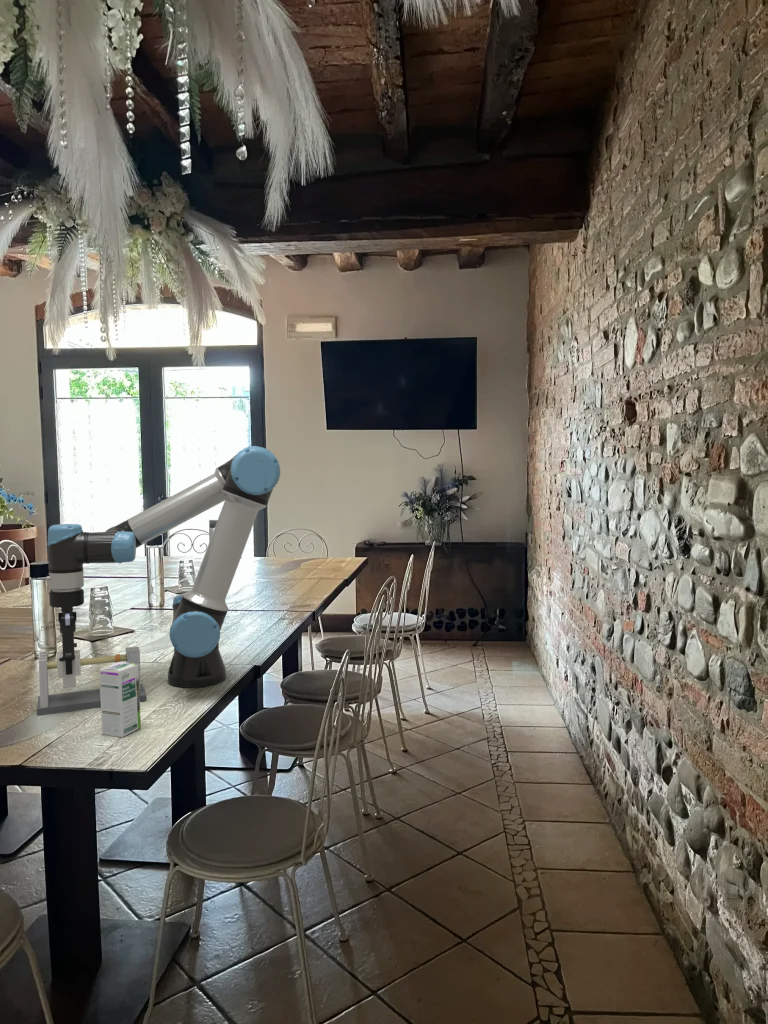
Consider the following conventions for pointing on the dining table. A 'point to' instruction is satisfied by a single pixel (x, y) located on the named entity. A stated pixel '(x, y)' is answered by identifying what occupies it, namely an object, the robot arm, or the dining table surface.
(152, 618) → the dining table surface
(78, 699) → the cable comb board
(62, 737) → the dining table surface
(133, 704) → the syrup box
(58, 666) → the sleeve
